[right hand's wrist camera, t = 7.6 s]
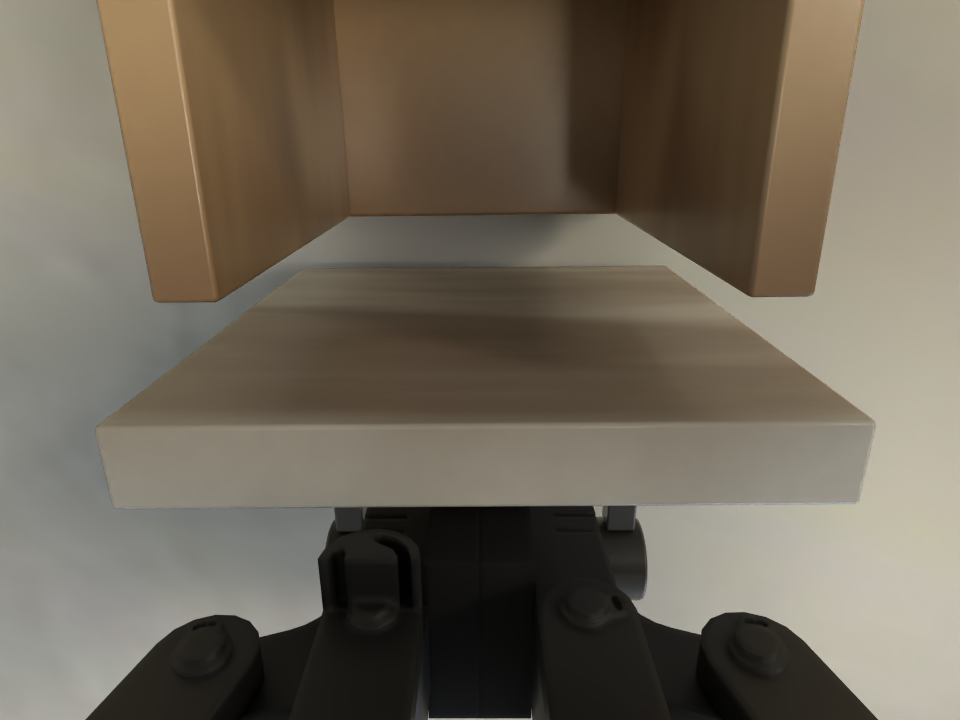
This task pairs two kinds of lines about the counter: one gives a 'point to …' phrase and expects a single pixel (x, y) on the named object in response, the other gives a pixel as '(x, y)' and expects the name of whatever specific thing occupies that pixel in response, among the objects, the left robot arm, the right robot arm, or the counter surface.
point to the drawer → (483, 290)
